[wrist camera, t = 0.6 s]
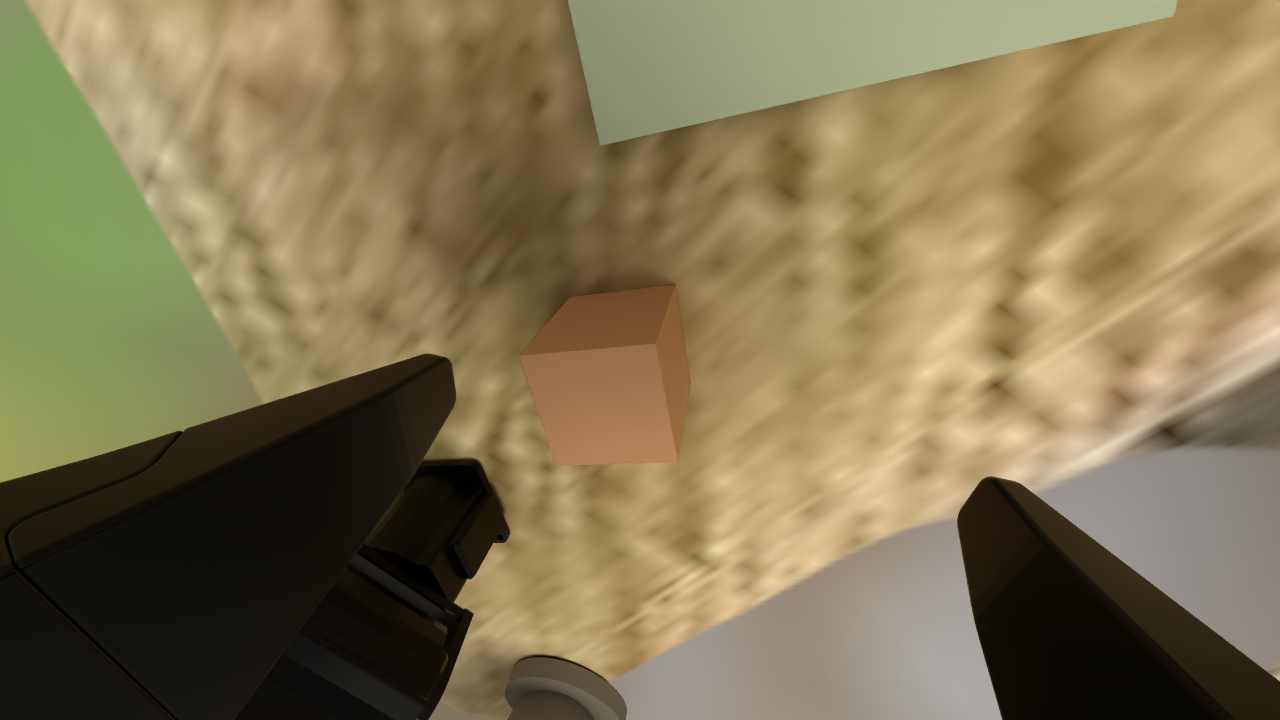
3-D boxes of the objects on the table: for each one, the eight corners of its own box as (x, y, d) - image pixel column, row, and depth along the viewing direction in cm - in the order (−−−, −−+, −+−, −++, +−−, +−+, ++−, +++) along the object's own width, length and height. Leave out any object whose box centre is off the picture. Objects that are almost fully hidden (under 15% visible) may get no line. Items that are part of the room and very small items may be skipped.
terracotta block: (594, 387, 24) (555, 465, 19) (570, 296, 22) (518, 355, 17) (690, 381, 23) (677, 462, 18) (675, 283, 20) (655, 343, 15)
